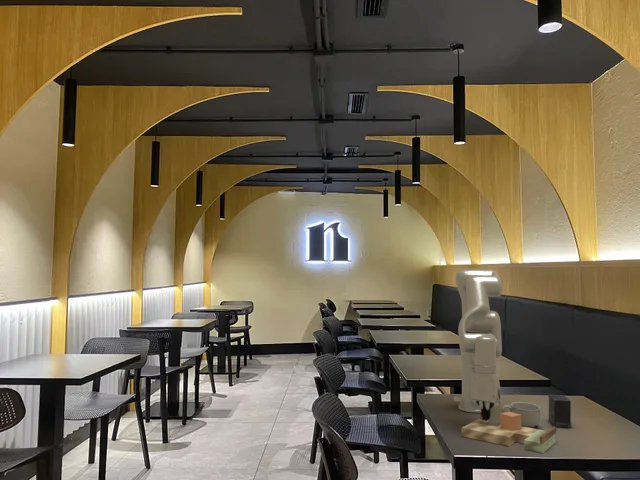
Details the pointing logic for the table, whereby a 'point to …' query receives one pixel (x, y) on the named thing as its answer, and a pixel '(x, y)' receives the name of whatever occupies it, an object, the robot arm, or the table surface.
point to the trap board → (511, 435)
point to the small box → (559, 411)
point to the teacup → (525, 413)
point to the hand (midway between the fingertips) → (485, 419)
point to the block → (510, 421)
